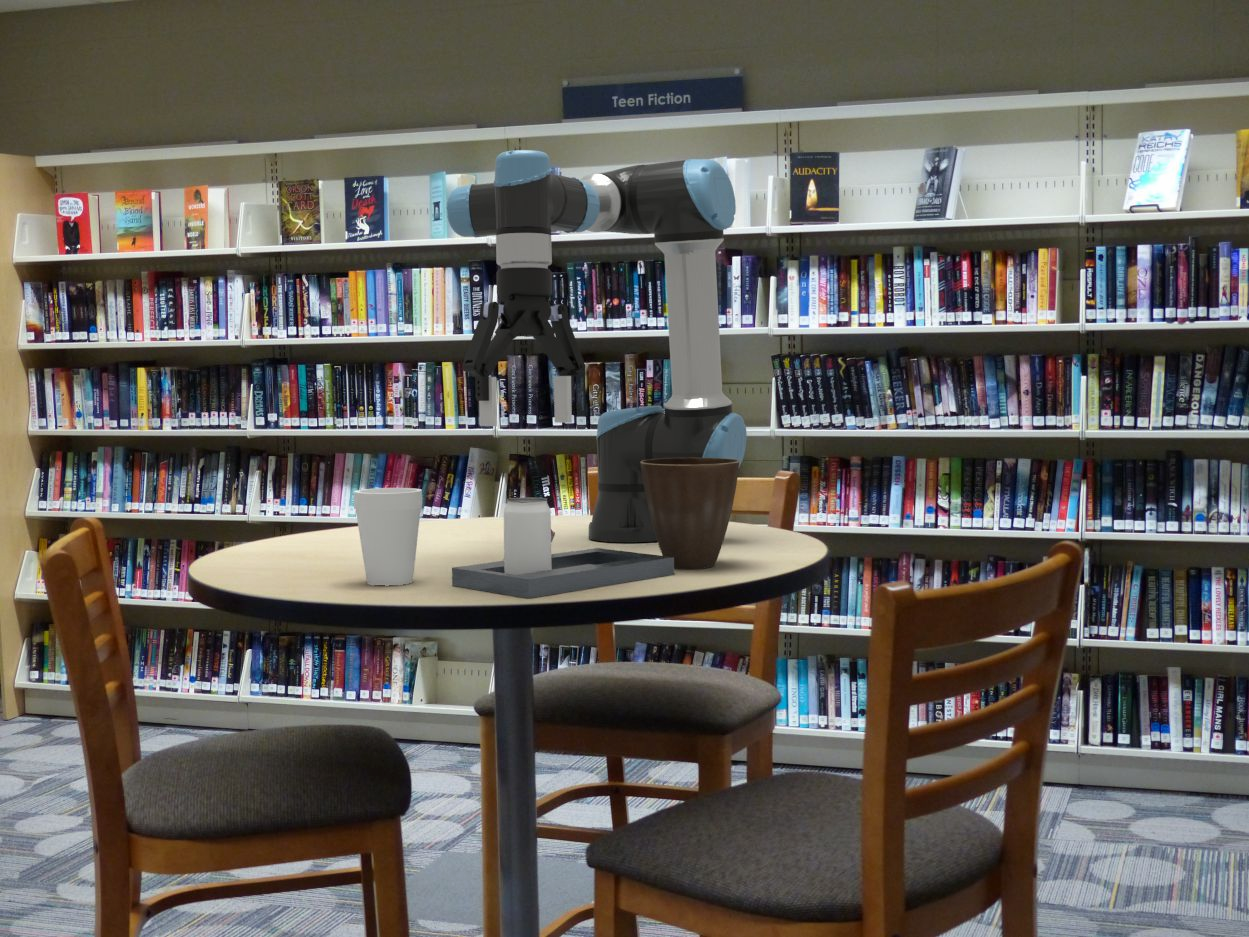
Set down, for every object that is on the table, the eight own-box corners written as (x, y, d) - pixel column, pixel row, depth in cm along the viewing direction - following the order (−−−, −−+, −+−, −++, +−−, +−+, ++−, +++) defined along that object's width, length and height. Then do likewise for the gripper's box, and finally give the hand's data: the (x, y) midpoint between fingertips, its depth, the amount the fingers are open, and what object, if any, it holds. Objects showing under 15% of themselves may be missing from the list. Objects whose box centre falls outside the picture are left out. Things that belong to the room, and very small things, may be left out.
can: (557, 587, 180) (556, 500, 179) (512, 591, 178) (511, 502, 177) (543, 581, 186) (542, 496, 185) (499, 584, 184) (497, 498, 183)
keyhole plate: (597, 564, 203) (596, 547, 202) (674, 574, 191) (674, 557, 191) (452, 585, 183) (451, 567, 183) (528, 598, 172) (528, 579, 171)
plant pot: (735, 574, 191) (735, 464, 190) (633, 572, 194) (633, 463, 193) (743, 559, 206) (743, 457, 205) (648, 558, 209) (648, 457, 207)
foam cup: (358, 589, 180) (356, 494, 180) (353, 579, 189) (350, 489, 188) (428, 585, 183) (426, 492, 182) (419, 576, 192) (417, 487, 191)
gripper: (572, 273, 191) (574, 420, 192) (433, 264, 173) (436, 426, 174) (608, 270, 185) (610, 421, 187) (469, 261, 168) (472, 428, 169)
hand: (526, 424), depth 181 cm, fingers open, 13 cm apart
